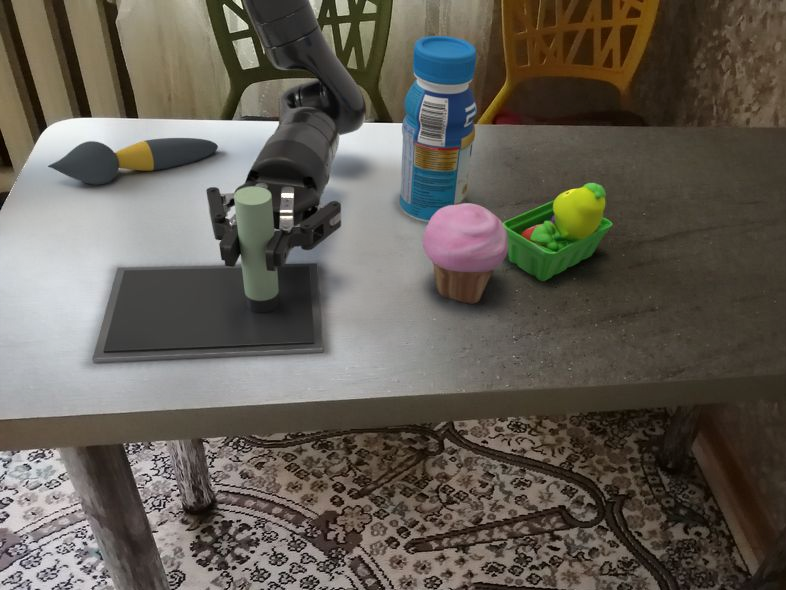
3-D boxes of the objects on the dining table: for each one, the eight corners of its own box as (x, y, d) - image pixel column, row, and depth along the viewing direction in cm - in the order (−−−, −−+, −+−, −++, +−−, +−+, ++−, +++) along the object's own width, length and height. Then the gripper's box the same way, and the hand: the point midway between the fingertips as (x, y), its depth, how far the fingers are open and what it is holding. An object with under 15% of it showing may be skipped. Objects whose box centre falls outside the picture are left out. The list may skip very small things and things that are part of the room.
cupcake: (493, 323, 77) (506, 241, 70) (411, 308, 77) (416, 225, 71) (504, 275, 83) (517, 196, 77) (429, 261, 84) (435, 182, 77)
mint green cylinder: (244, 313, 72) (232, 204, 64) (247, 293, 74) (235, 185, 66) (278, 313, 73) (270, 205, 65) (280, 293, 75) (272, 186, 67)
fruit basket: (556, 230, 92) (575, 145, 84) (613, 264, 87) (638, 177, 80) (493, 261, 85) (506, 172, 78) (551, 299, 81) (571, 208, 73)
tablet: (94, 367, 66) (91, 357, 65) (119, 275, 76) (116, 265, 76) (323, 356, 70) (323, 347, 69) (317, 270, 80) (317, 261, 80)
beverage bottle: (384, 202, 93) (390, 37, 80) (438, 186, 97) (452, 27, 84) (424, 234, 88) (438, 65, 75) (479, 216, 92) (500, 53, 79)
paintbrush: (204, 143, 99) (199, 107, 96) (223, 158, 97) (219, 122, 94) (50, 184, 88) (38, 145, 85) (68, 202, 86) (56, 162, 82)
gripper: (222, 130, 77) (163, 215, 64) (358, 146, 78) (326, 233, 64) (230, 194, 82) (176, 286, 69) (357, 209, 82) (328, 302, 69)
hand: (249, 260), depth 67 cm, fingers closed on mint green cylinder, 3 cm apart
